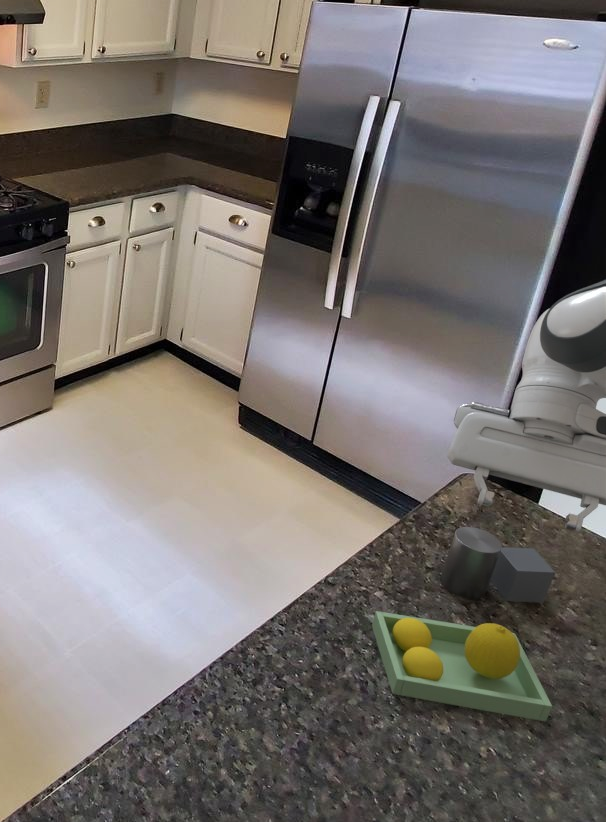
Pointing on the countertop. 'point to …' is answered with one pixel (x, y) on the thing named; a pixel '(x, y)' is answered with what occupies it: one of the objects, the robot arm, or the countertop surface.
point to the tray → (460, 673)
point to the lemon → (492, 651)
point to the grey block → (522, 575)
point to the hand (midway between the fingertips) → (527, 517)
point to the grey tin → (470, 563)
